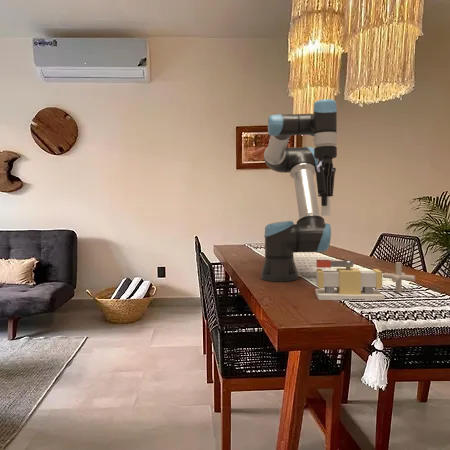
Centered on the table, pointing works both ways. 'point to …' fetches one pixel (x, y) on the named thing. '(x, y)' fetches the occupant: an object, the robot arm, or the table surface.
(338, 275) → the valve base
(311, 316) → the table surface
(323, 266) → the valve lever
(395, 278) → the pipe connector
